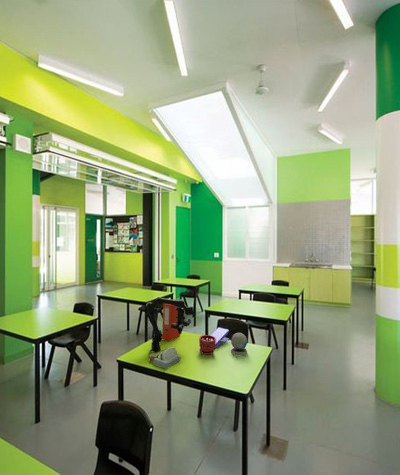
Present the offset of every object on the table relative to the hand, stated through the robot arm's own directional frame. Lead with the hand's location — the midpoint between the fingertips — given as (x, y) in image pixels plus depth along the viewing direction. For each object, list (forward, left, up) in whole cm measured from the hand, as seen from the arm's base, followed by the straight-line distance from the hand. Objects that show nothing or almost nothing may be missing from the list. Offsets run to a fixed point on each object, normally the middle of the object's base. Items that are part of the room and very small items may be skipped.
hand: (180, 334), depth 223 cm
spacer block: (-3, -28, -12) cm, 31 cm away
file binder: (-22, +16, -12) cm, 30 cm away
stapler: (+18, +29, -13) cm, 37 cm away
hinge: (+7, -22, -12) cm, 26 cm away
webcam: (+42, +24, -12) cm, 50 cm away
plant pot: (+22, +7, -12) cm, 26 cm away
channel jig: (+7, -24, -12) cm, 28 cm away
